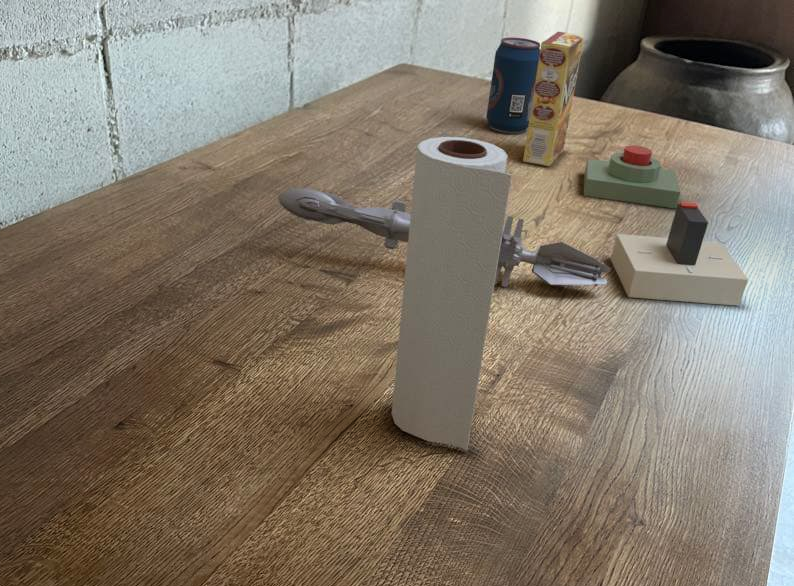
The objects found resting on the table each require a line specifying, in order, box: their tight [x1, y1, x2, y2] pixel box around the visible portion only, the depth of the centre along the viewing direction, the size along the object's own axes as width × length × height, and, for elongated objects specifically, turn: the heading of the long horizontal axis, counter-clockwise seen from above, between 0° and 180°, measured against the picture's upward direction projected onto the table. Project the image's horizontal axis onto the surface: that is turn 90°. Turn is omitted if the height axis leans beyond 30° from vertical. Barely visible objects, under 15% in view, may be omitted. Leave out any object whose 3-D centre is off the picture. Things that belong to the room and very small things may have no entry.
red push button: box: [622, 145, 653, 166], centre depth 121 cm, size 4×4×2 cm
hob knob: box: [666, 201, 709, 265], centre depth 97 cm, size 5×2×5 cm, turn 0°
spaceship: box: [278, 187, 612, 288], centre depth 95 cm, size 8×35×8 cm
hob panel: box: [610, 233, 749, 307], centre depth 100 cm, size 12×10×3 cm
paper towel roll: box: [391, 136, 513, 452], centre depth 67 cm, size 7×6×21 cm
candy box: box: [522, 31, 585, 167], centre depth 127 cm, size 9×4×15 cm, turn 159°
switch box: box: [583, 152, 681, 210], centre depth 122 cm, size 12×9×4 cm
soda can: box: [486, 37, 541, 135], centre depth 138 cm, size 7×7×12 cm
